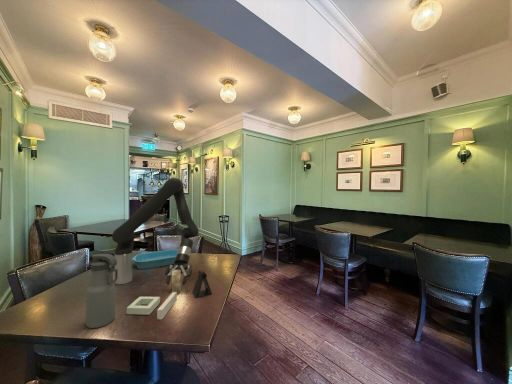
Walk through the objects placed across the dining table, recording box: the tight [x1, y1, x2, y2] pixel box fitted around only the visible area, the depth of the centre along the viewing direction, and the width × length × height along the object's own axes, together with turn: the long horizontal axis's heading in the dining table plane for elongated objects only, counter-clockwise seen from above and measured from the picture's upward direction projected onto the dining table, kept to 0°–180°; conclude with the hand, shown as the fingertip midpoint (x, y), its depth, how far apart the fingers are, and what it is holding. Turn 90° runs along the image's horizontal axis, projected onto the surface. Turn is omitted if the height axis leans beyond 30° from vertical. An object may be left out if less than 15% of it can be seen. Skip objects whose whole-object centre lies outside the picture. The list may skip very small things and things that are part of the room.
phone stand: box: [192, 269, 213, 299], centre depth 113 cm, size 9×6×12 cm, turn 121°
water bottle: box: [85, 253, 118, 329], centre depth 89 cm, size 10×10×28 cm
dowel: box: [171, 270, 182, 296], centre depth 113 cm, size 4×4×12 cm
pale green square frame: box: [126, 296, 161, 316], centre depth 99 cm, size 10×10×3 cm
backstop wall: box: [156, 292, 178, 320], centre depth 98 cm, size 2×16×4 cm, turn 179°
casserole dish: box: [132, 248, 179, 270], centre depth 161 cm, size 37×22×7 cm, turn 120°
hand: (175, 284), depth 112 cm, fingers open, 8 cm apart
